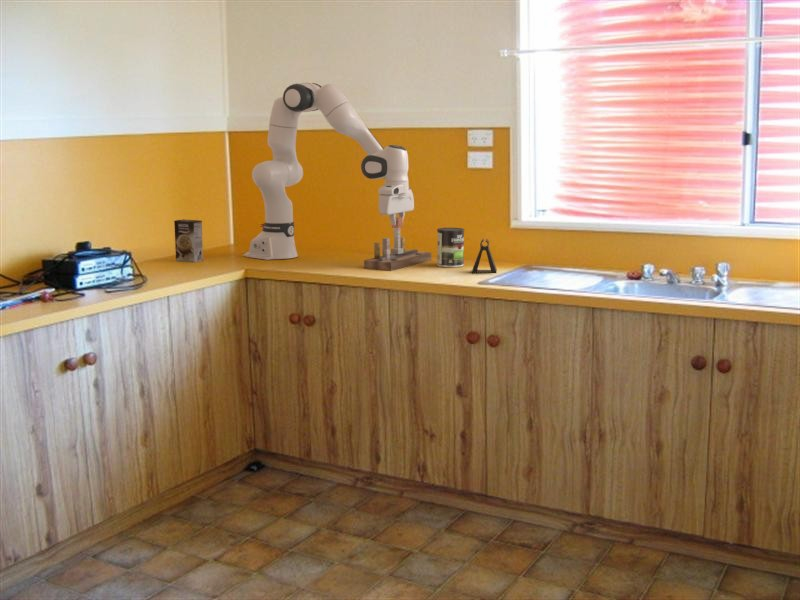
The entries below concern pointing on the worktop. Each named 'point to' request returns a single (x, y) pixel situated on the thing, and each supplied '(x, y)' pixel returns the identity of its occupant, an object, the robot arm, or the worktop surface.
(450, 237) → the coffee can
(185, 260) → the coffee box
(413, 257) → the bolt plate
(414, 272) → the worktop surface
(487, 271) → the black clip stand
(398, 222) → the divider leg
